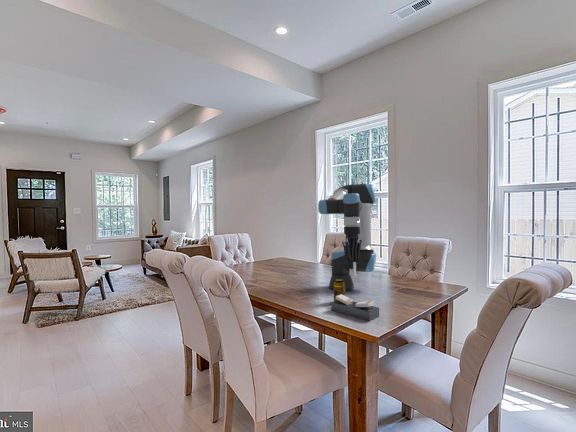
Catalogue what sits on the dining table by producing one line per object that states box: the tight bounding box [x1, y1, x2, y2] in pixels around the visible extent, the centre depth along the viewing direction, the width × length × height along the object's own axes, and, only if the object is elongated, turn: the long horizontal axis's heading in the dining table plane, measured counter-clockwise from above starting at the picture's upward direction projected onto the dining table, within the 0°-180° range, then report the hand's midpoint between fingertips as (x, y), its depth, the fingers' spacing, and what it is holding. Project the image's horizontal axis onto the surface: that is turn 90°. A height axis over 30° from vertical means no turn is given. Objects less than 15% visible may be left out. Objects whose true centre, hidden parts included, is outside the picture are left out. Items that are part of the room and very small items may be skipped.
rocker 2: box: [355, 300, 375, 307], centre depth 138 cm, size 7×4×2 cm, turn 44°
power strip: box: [329, 300, 380, 322], centre depth 143 cm, size 25×8×5 cm, turn 44°
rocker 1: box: [336, 294, 354, 305], centre depth 146 cm, size 7×4×2 cm, turn 44°
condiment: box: [333, 279, 346, 301], centre depth 160 cm, size 7×8×12 cm
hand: (352, 275), depth 145 cm, fingers closed
